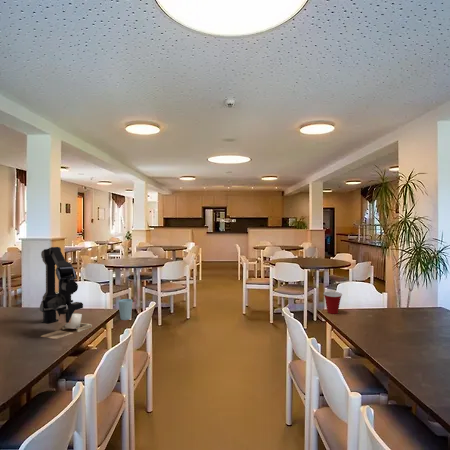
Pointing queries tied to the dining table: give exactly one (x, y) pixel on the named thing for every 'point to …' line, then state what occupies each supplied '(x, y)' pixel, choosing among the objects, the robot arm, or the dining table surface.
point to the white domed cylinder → (71, 320)
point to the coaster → (57, 334)
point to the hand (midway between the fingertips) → (64, 322)
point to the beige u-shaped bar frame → (84, 327)
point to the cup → (125, 308)
